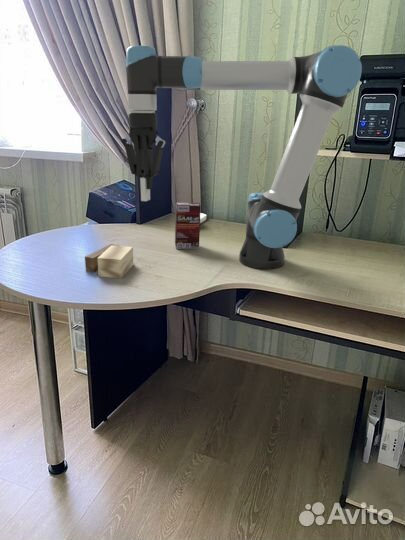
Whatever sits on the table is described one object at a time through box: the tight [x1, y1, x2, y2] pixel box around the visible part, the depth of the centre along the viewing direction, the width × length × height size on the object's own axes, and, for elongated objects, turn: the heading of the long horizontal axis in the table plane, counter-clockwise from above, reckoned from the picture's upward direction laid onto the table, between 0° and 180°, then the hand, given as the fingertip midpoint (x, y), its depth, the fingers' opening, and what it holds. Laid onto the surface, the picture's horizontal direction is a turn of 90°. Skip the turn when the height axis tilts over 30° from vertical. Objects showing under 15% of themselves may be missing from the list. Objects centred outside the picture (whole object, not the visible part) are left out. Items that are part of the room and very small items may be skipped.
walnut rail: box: [84, 243, 120, 273], centre depth 132 cm, size 3×14×4 cm, turn 158°
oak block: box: [97, 245, 134, 279], centre depth 128 cm, size 7×12×6 cm, turn 172°
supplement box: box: [174, 202, 202, 250], centre depth 149 cm, size 9×5×16 cm, turn 97°
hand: (145, 200), depth 120 cm, fingers closed
